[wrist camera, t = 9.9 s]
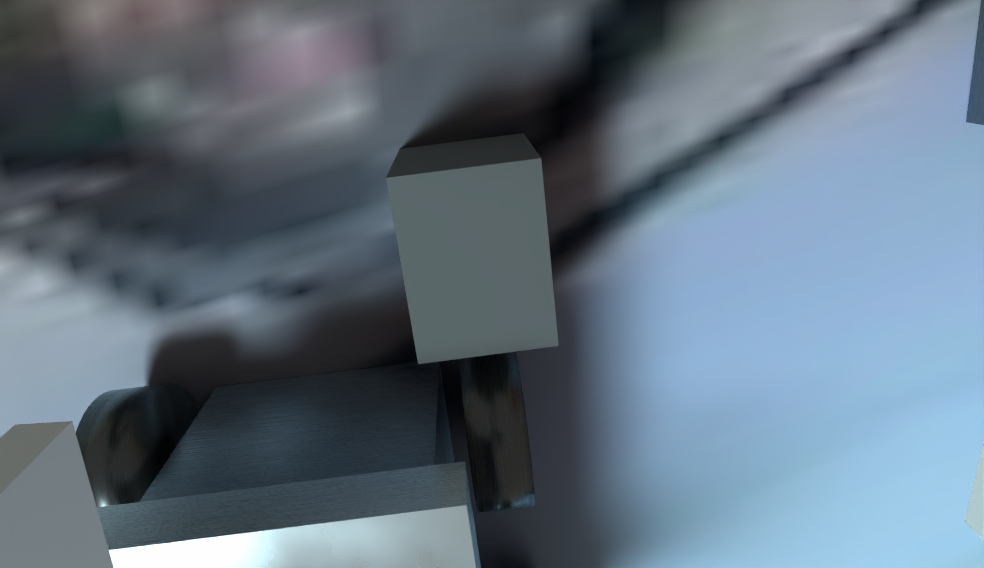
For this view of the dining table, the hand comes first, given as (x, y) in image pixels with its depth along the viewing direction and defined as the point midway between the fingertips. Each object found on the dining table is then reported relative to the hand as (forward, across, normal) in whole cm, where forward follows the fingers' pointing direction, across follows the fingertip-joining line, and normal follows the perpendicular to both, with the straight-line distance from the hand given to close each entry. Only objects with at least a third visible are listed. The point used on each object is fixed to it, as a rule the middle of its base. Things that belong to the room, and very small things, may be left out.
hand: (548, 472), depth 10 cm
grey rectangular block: (+17, -1, -1) cm, 17 cm away
